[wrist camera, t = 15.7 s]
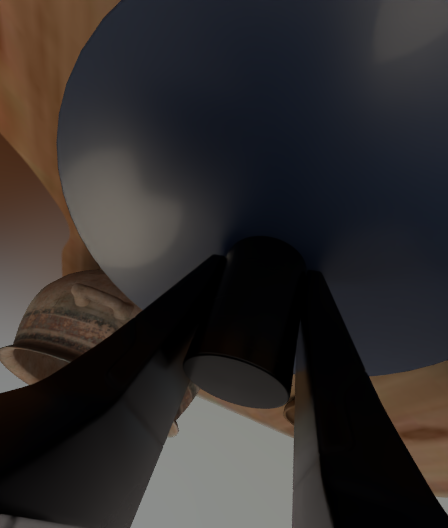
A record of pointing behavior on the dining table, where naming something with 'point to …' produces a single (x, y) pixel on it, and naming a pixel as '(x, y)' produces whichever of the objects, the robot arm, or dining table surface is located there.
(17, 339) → the cooking pot
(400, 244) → the lid
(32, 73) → the dining table surface
